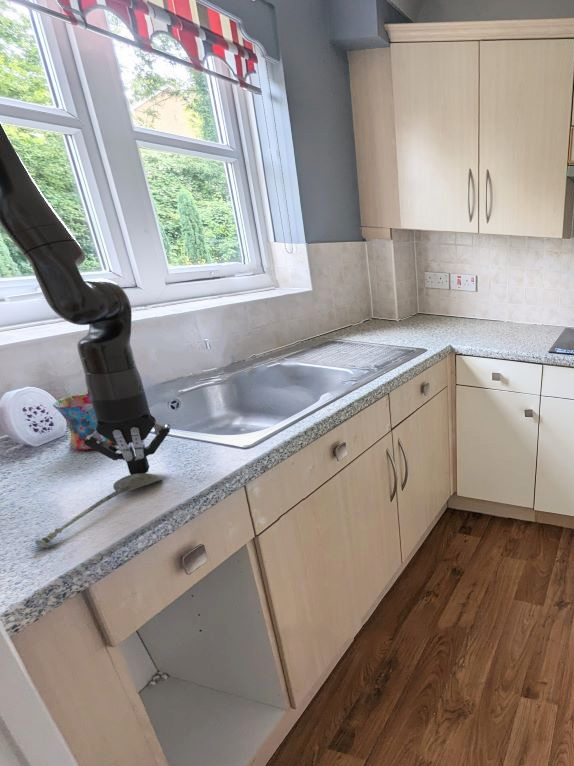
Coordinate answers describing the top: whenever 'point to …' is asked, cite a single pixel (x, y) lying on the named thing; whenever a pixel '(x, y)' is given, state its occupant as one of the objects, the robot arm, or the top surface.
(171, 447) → the top surface
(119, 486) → the soupspoon
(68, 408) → the mug
